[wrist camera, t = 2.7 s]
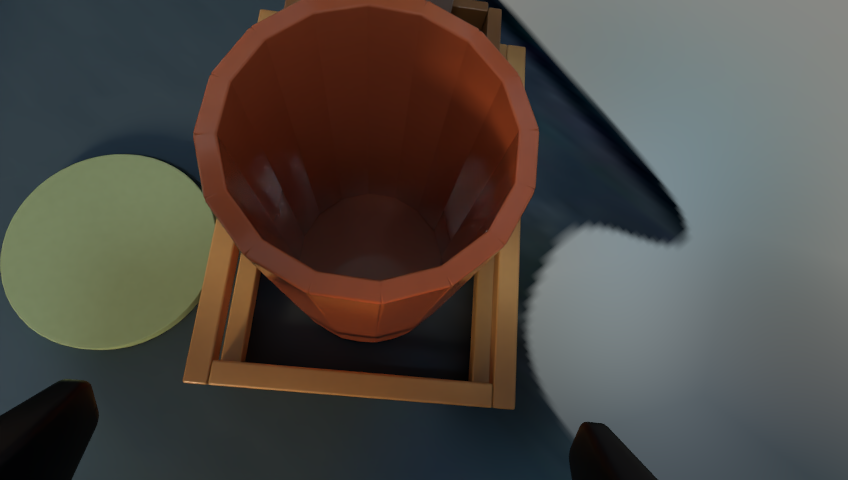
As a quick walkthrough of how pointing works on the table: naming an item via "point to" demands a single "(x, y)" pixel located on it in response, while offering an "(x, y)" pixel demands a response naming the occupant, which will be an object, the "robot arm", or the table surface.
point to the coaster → (108, 252)
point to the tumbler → (366, 157)
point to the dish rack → (483, 389)
